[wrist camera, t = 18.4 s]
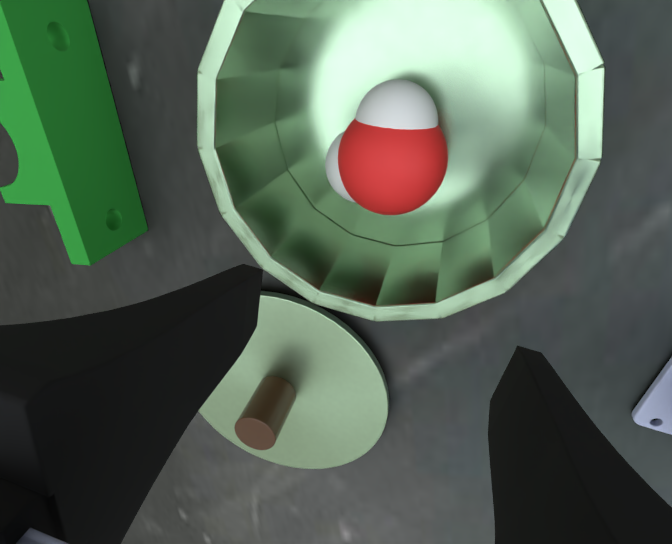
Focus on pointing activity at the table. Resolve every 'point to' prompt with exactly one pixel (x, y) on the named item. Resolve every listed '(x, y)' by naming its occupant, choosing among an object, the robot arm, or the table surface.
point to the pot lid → (301, 389)
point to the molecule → (390, 150)
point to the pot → (453, 118)
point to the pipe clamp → (66, 127)
